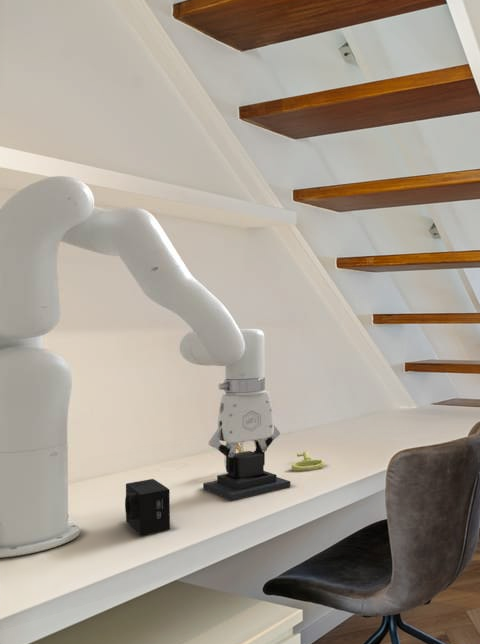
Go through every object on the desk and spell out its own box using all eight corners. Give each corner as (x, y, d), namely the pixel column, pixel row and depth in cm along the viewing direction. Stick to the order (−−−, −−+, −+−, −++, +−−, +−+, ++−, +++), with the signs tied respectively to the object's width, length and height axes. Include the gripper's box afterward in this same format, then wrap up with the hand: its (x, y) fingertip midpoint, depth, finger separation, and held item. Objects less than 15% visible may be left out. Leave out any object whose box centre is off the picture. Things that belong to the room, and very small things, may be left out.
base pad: (231, 500, 116) (231, 487, 116) (203, 488, 125) (203, 476, 125) (290, 486, 125) (290, 474, 125) (259, 476, 134) (259, 464, 134)
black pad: (241, 478, 121) (241, 458, 121) (227, 473, 125) (227, 454, 126) (263, 473, 125) (263, 454, 125) (249, 469, 129) (249, 450, 129)
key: (307, 458, 151) (306, 450, 151) (327, 467, 142) (327, 458, 142) (278, 464, 146) (278, 455, 146) (297, 473, 137) (297, 464, 137)
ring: (238, 469, 142) (237, 435, 142) (250, 469, 141) (250, 435, 141) (219, 476, 135) (218, 441, 135) (232, 477, 134) (231, 442, 134)
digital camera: (117, 524, 104) (117, 484, 104) (153, 516, 108) (153, 477, 108) (131, 538, 96) (131, 495, 96) (169, 529, 100) (169, 488, 100)
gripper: (210, 391, 117) (210, 484, 116) (292, 384, 130) (292, 467, 129) (195, 389, 121) (195, 478, 121) (275, 382, 134) (276, 462, 134)
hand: (245, 471), depth 125 cm, fingers closed on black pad, 4 cm apart
